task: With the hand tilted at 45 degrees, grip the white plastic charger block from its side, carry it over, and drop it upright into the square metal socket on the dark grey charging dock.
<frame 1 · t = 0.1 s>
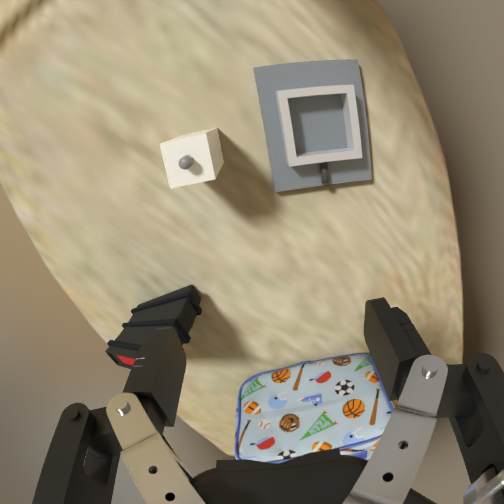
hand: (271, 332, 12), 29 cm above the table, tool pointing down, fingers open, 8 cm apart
lunch box: (303, 374, 55), on the table
charging dock: (315, 123, 35), on the table
magazine: (162, 303, 47), on the table
charger block: (202, 148, 37), on the table
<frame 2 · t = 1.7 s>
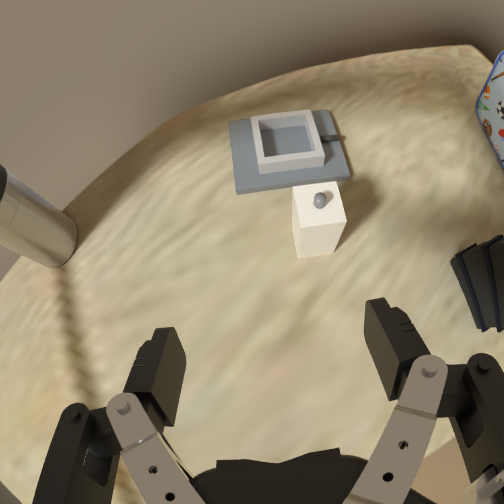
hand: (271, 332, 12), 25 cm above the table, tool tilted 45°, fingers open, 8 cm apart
charging dock: (286, 149, 44), on the table
magazine: (473, 298, 34), on the table
charger block: (312, 238, 39), on the table
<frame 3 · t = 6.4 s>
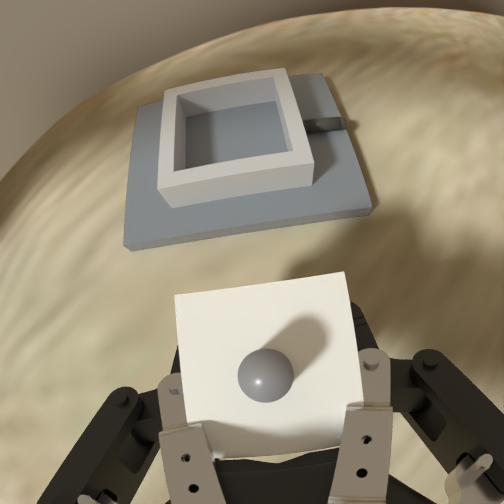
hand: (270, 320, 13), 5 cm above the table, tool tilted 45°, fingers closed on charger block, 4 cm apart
charging dock: (236, 151, 21), on the table
charger block: (279, 360, 17), on the table, touching gripper
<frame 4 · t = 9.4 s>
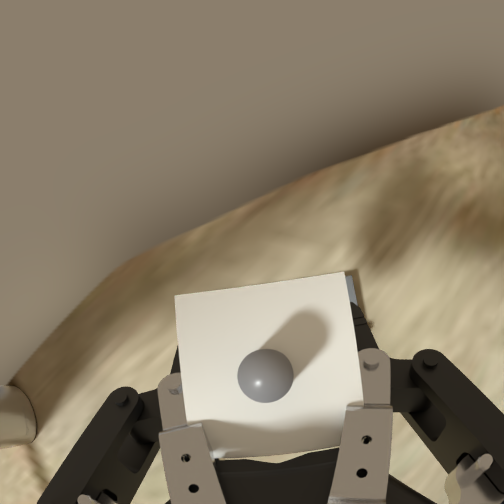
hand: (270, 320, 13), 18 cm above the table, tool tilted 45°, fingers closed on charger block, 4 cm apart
charger block: (279, 360, 17), point 13 cm above the table, touching gripper
when the fingers open (7 cm above the table, at t = 12.5 s): charger block drops 1 cm, resting on charging dock.
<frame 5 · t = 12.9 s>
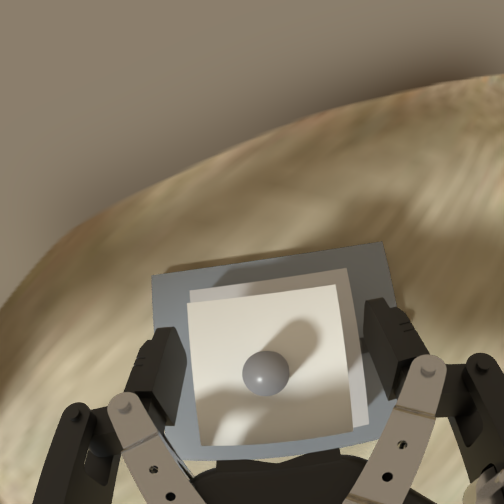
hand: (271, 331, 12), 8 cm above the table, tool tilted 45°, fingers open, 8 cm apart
charging dock: (279, 359, 19), on the table
charger block: (278, 360, 18), point 1 cm above the table, touching charging dock
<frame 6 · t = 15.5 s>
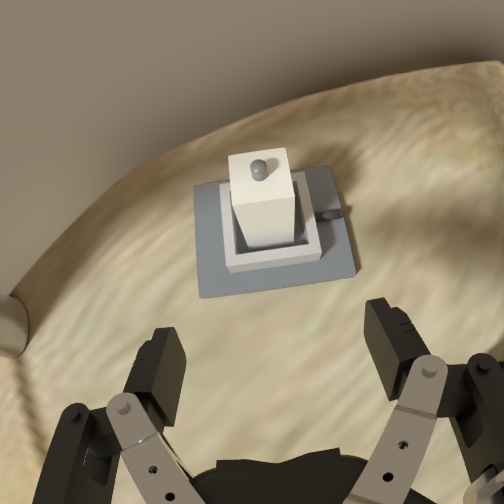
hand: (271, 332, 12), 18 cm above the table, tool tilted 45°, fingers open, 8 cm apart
charging dock: (269, 230, 33), on the table
charger block: (268, 226, 32), point 1 cm above the table, touching charging dock
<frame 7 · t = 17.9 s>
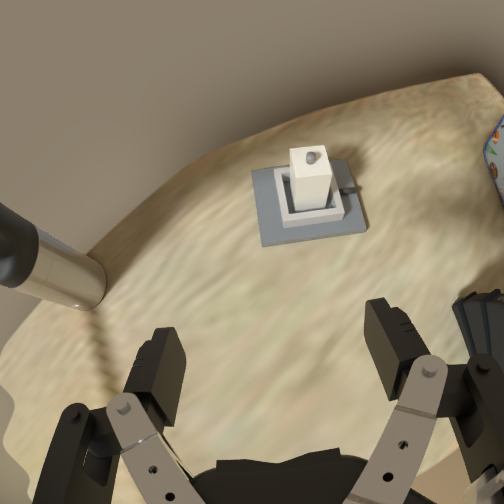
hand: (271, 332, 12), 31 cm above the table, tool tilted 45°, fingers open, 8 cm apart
charging dock: (307, 201, 48), on the table
magazine: (470, 337, 38), on the table
charger block: (307, 198, 46), point 1 cm above the table, touching charging dock
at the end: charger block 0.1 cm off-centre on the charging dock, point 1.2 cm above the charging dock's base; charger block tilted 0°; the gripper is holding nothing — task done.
